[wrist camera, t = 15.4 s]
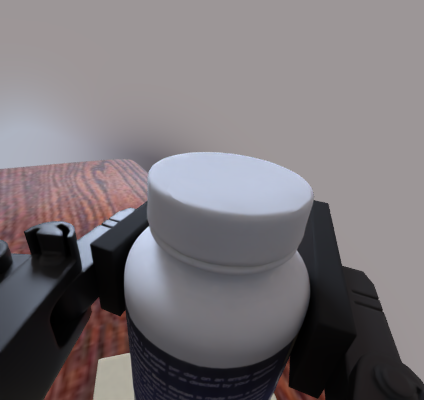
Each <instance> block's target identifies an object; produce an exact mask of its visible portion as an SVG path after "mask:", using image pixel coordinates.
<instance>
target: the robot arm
mask: <svg viewBox="0 0 424 400" xmlns="http://www.w3.org/2000/svg"><path fill="white" fill-rule="evenodd" d="M147 206H148V201H147V202H145V203H144V204H143V205H141V206H140V207H139V208H137V209H134V208H128V209H125V210H122V211H120V212H118V213H116V214H115V215H113V216H112V217H110V218H109V220H106V221H105V222H103V223H102V225H99V226H97V227H96V228H95V229H93V230H92V231H90V232H89V233H87V234H86V235H84V236H83V237H81V238H80V239H79V240H77V238H76V233H75V229H74V226H73V225H71V224H70V223H67V222H63V221H52V222H47V223H42V224H39V225H36V226H33V227H31V228H29V229H28V230H26V231H24V233H25V236H26V240H27V243H28V246H29V249H30V252H31V255H29V254H12V253H11V252H10V249H9V247H8V244H7V243H6V242H5V241H3V240H0V400H43V399H44V398H45V396H46V394H47V392H48V391H49V389H50V387H51V385H52V384H53V382H54V380H55V378H56V377H57V375H58V373H59V371H60V370H61V368H62V366H63V364H64V362H65V361H66V359H67V357H68V355H69V354H70V352H71V350H72V348H73V347H74V345H75V343H76V341H77V340H78V338H79V336H80V334H81V333H82V331H83V329H84V327H85V326H86V324H87V322H88V320H89V318H90V315H91V313H92V311H91V305H92V304H93V303H94V301H95V300H96V299H97V298H98V297H99V299H100V304H101V309H104V310H106V311H109V312H111V313H113V314H116V315H118V316H121V315H122V314H123V312H124V311H125V310H126V308H125V294H124V272H125V265H126V260H127V257H128V254H129V252H130V249H131V248H132V246H133V244H134V242H135V241H136V239H137V238H138V237H139V236H140V234H141V233H142V232H143V231H144V230H145V229H146V228H147V227H149V222H148V219H147ZM297 251H298V253H299V254H300V256H301V258H302V259H303V261H304V264H305V266H306V268H307V272H308V275H309V281H310V300H309V306H308V310H307V313H306V316H305V319H304V322H303V325H302V327H301V330H300V332H299V334H298V337H297V339H296V341H295V344H294V346H293V349H292V351H291V354H290V371H289V387H291V388H293V389H296V390H298V391H300V392H303V393H305V394H308V395H310V396H312V397H315V398H317V399H318V398H319V396H320V395H321V393H322V392H323V390H324V388H325V400H424V384H423V382H422V381H421V379H419V377H417V375H416V374H415V373H414V372H413V371H412V370H411V369H410V368H409V367H407V366H406V365H405V364H403V363H402V361H401V359H400V356H399V354H398V351H397V348H396V345H395V343H394V340H393V337H392V334H391V331H390V329H389V326H388V323H387V320H386V317H385V315H384V312H382V310H383V309H382V306H381V303H380V301H379V300H378V295H377V292H376V289H375V287H374V284H373V283H372V282H371V281H370V280H369V278H368V277H367V276H366V275H365V273H364V272H362V271H359V270H355V269H352V268H348V267H344V266H342V264H341V259H340V255H339V250H338V246H337V241H336V236H335V232H334V227H333V223H332V218H331V214H330V209H329V205H328V203H324V202H319V201H315V200H313V205H312V208H311V211H310V214H309V218H308V221H307V224H306V228H305V232H304V236H303V238H302V241H301V243H300V244H299V246H298V249H297Z"/></svg>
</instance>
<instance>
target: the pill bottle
mask: <svg viewBox="0 0 424 400" xmlns="http://www.w3.org/2000/svg"><path fill="white" fill-rule="evenodd" d="M313 200H314V194H313V190H312V188H311V186H310V185H309V184H308V183H307V181H306V180H304V179H303V178H302V177H301V176H299V175H298V174H296V173H294V172H293V171H291V170H289V169H287V168H285V167H282V166H280V165H277V164H274V163H272V162H269V161H265V160H262V159H257V158H253V157H248V156H243V155H236V154H228V153H215V152H197V153H196V152H195V153H185V154H179V155H174V156H170V157H167V158H164V159H162V160H160V161H158V162H157V163H156V164H154V165H153V166H152V167H151V169H150V171H149V173H148V206H147V219H148V222H149V227H147V228H146V229H145V230H144V231H143V232H142V233H141V234H140V236H139V237H138V238H137V239H136V241H135V242H134V244H133V246H132V248H131V249H130V252H129V254H128V257H127V260H126V265H125V272H124V294H125V308H126V317H127V327H128V336H129V346H130V357H131V368H132V378H133V389H134V399H135V400H271V397H272V395H273V393H274V391H275V388H276V386H277V383H278V381H279V378H280V376H281V374H282V372H283V370H284V368H285V366H286V363H287V361H288V359H289V356H290V354H291V351H292V349H293V346H294V344H295V341H296V339H297V337H298V334H299V332H300V330H301V327H302V325H303V322H304V319H305V316H306V313H307V310H308V306H309V300H310V281H309V275H308V272H307V268H306V266H305V264H304V261H303V259H302V258H301V256H300V254H299V253H298V251H297V249H298V246H299V244H300V243H301V241H302V238H303V236H304V232H305V228H306V224H307V221H308V218H309V214H310V211H311V208H312V205H313Z"/></svg>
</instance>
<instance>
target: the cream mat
mask: <svg viewBox="0 0 424 400" xmlns="http://www.w3.org/2000/svg"><path fill="white" fill-rule="evenodd" d="M93 400H135V399H134V389H133V378H132V368H131V357H130V353H127V354H122V355H117V356H113V357H108V358H103V359H99V361H98V368H97V375H96V382H95V389H94V396H93ZM271 400H277V399H276V397H275V395H274V393H273V395H272V397H271Z"/></svg>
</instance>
